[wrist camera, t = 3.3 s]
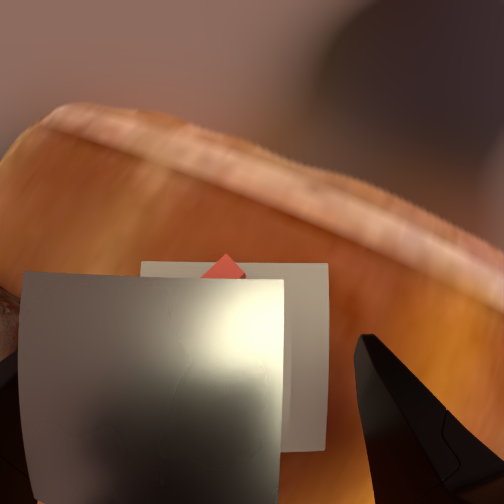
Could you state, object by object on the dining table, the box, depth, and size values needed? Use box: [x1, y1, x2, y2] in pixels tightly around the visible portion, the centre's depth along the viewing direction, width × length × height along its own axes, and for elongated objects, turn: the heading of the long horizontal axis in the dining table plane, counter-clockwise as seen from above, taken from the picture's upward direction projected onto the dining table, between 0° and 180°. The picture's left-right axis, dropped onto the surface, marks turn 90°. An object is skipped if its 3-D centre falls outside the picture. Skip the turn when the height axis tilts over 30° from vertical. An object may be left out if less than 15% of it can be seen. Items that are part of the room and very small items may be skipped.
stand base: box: [140, 254, 329, 452], centre depth 14 cm, size 10×10×6 cm
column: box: [18, 271, 284, 504], centre depth 9 cm, size 4×4×12 cm
